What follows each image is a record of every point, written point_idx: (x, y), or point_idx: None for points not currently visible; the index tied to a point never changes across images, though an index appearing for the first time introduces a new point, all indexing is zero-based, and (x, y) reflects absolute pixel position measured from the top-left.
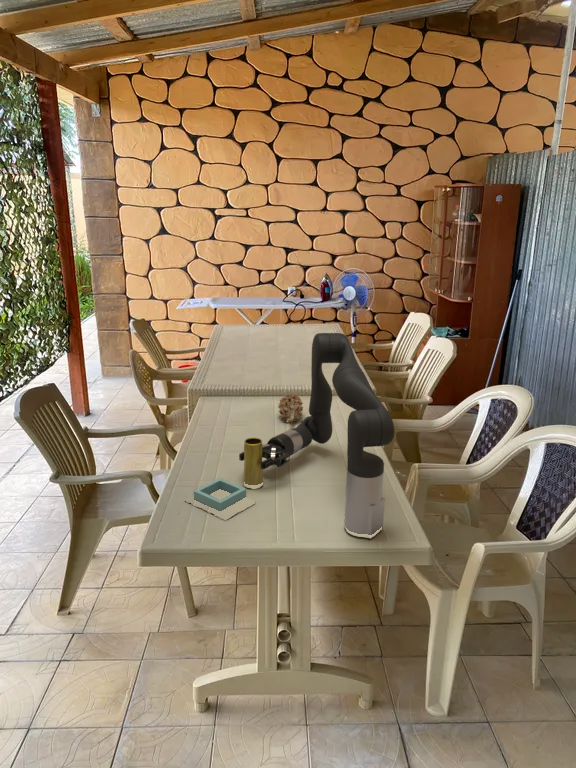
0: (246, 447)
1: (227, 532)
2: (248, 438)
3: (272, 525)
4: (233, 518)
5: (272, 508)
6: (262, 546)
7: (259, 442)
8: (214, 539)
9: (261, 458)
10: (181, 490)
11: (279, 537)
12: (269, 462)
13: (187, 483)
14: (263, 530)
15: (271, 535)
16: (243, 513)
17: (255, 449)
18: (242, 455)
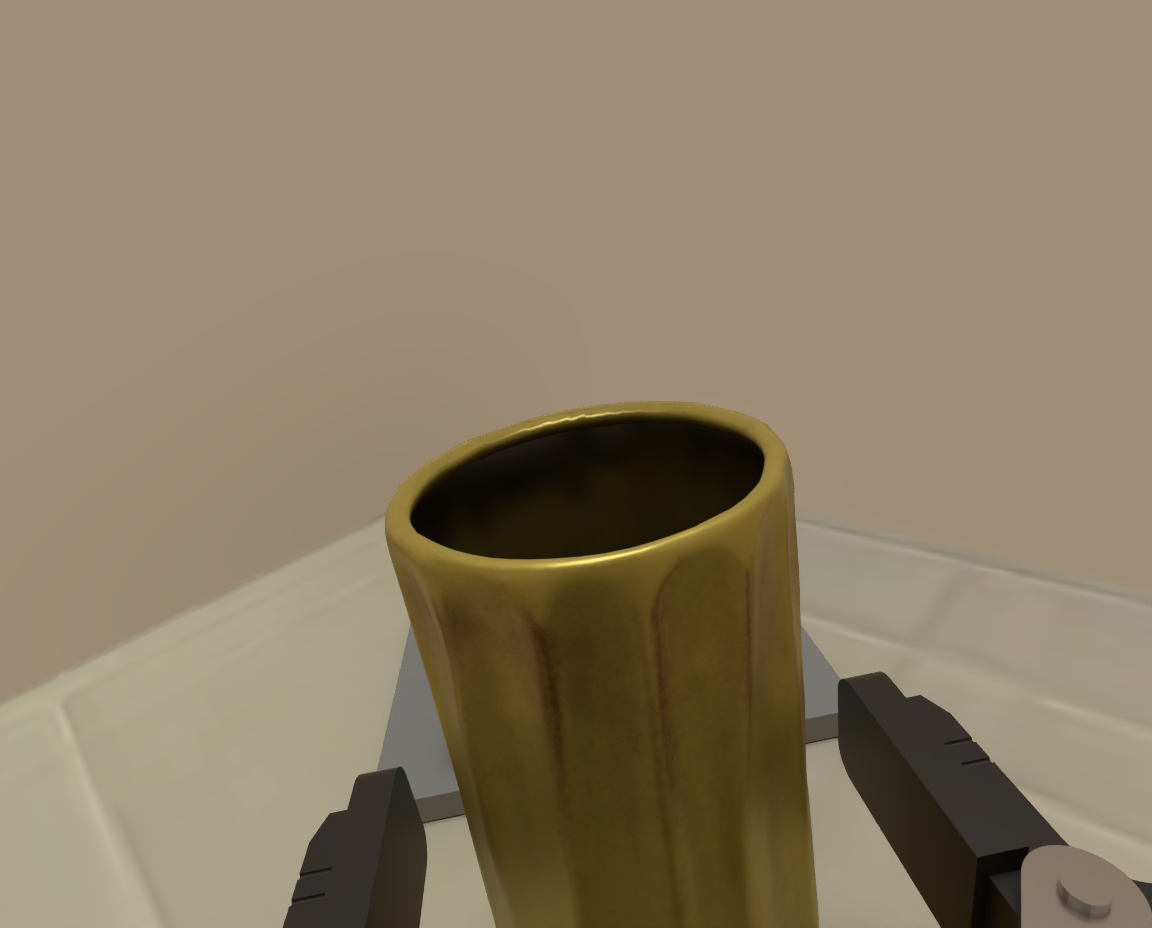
0: (603, 478)
1: (352, 593)
2: (770, 443)
3: (126, 764)
4: (401, 649)
5: (196, 901)
6: (135, 645)
7: (587, 645)
8: (372, 553)
9: (470, 828)
10: (889, 573)
11: (49, 729)
12: (289, 922)
13: (993, 616)
14: (173, 703)
15: (107, 710)
16: (381, 706)
17: (462, 551)
18: (854, 715)
